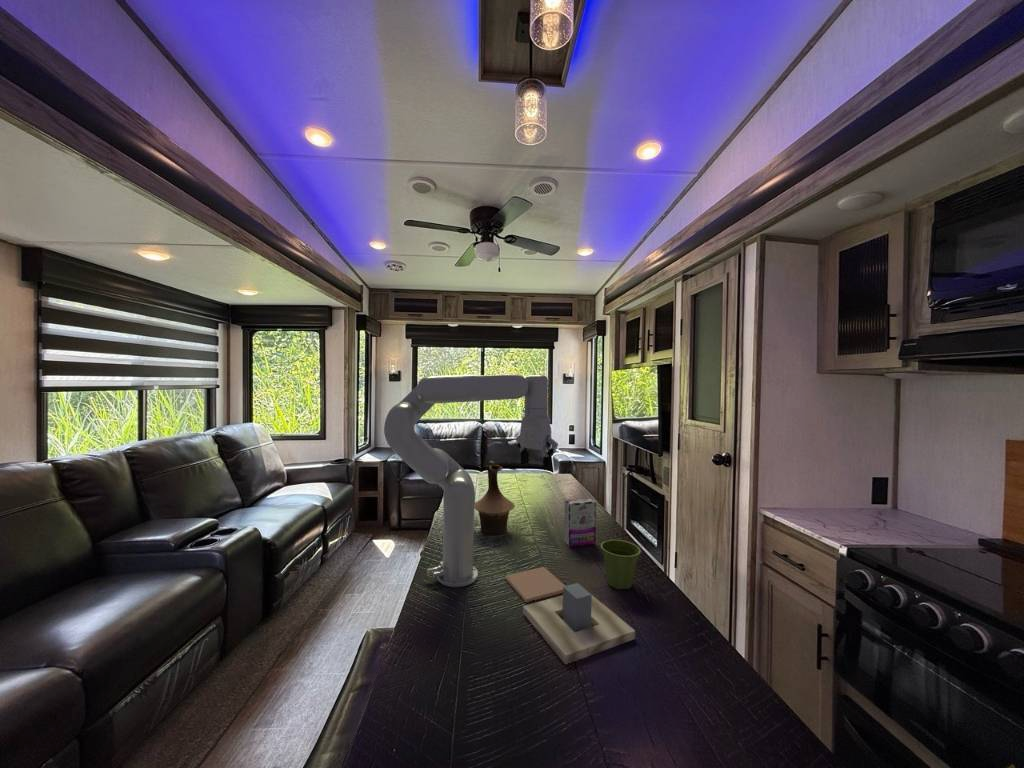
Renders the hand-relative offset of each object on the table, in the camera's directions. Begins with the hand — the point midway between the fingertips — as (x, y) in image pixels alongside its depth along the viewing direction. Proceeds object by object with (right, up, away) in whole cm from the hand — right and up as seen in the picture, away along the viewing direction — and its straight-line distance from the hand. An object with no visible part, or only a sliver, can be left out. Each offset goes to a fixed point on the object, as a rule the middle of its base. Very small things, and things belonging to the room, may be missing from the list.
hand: (535, 466), depth 123 cm
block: (+9, -35, -27) cm, 45 cm away
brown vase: (-15, -34, +34) cm, 50 cm away
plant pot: (+25, -35, -6) cm, 44 cm away
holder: (+9, -35, -27) cm, 45 cm away
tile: (0, -34, -8) cm, 35 cm away
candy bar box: (+18, -35, +22) cm, 45 cm away
